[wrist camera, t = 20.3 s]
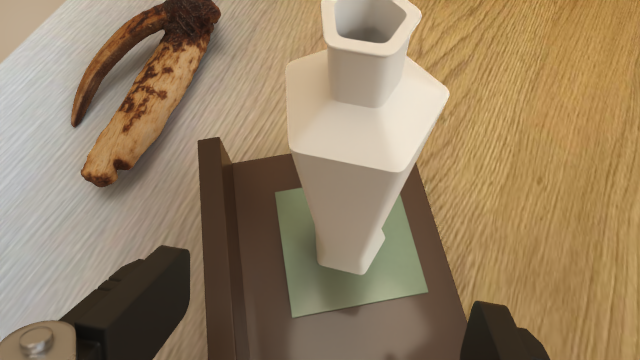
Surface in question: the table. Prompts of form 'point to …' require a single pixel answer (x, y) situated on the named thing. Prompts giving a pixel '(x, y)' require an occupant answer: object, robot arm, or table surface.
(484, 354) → the robot arm
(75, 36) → the table surface
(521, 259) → the table surface
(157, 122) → the lashed bone hook
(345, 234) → the cream faceted vase
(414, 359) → the shelf
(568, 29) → the table surface
